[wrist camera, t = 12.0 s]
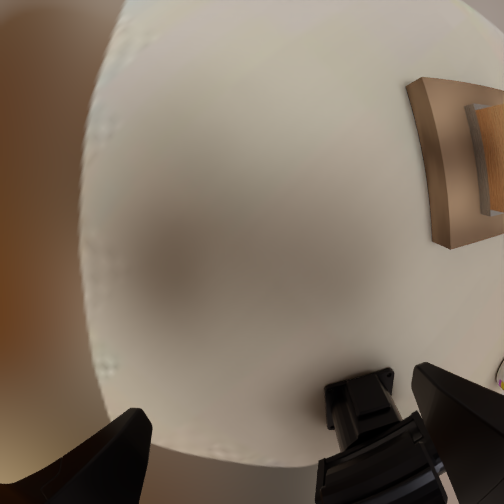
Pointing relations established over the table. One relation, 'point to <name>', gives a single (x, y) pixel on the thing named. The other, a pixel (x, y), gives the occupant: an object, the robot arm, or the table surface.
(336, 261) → the table surface
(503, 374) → the supplement bottle
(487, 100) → the walnut stand
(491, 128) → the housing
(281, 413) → the table surface
